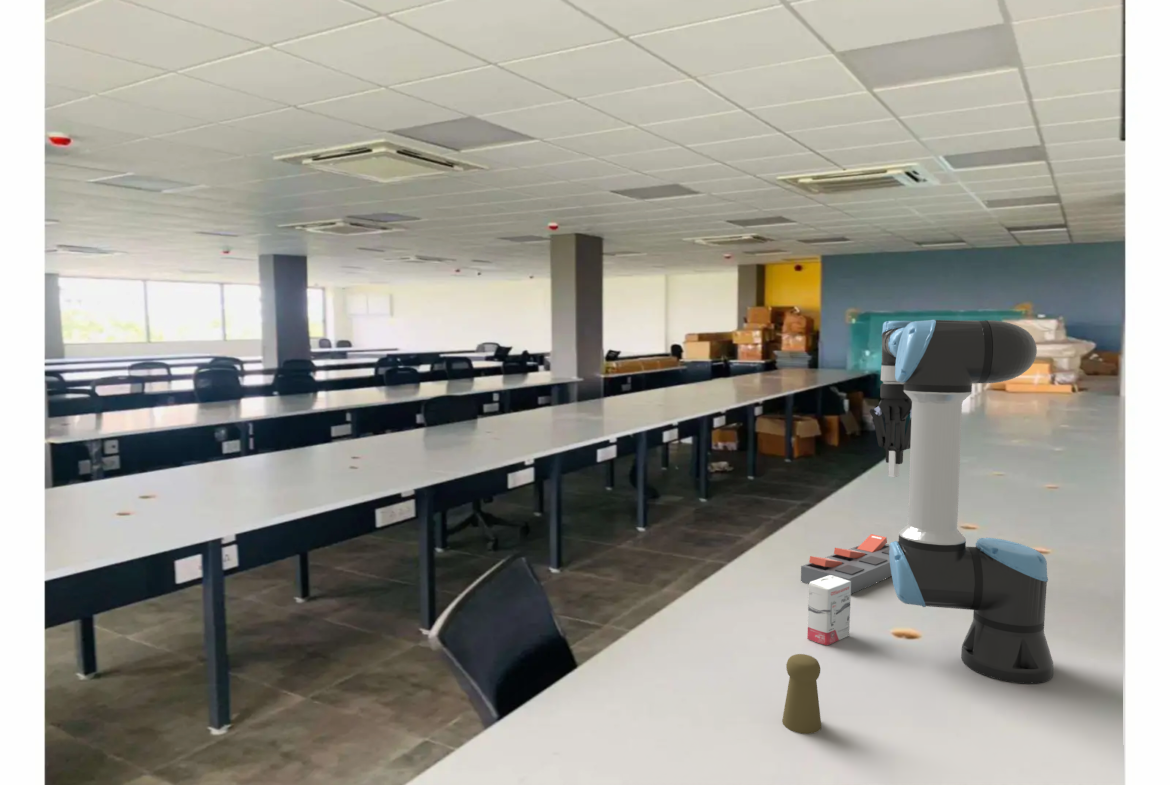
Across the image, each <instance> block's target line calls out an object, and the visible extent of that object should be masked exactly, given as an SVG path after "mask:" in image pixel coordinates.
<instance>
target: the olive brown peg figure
mask: <svg viewBox="0 0 1170 785" xmlns="http://www.w3.org/2000/svg"><path fill="white" fill-rule="evenodd" d="M785 665H786V668H785V669H786V671H787V672H786V673H787V675H788V676H789V679H788V685H787V691H786V696H785V702H784V709H783V715H782V721H781V722H782V725H783V726H784V727H785V728H786V729H787V730H790V731H792V732H794V733H798V734H803V735H804V734H806V735H810V734H815V733H817V732H819V731H821V729H822V720H821V719H822V718H821V711H820V704H819V702H820V701H819V691H818V683H817V680H818V679H819V677H820V674H821V665H820V663H819V660H817V659H816V658H815V657H814V656H812V655H810V654H804V653H803V654H802V653H797V654H796V653H795V654H793V655H791V656H790V657H788V659H787V662H786V664H785Z"/></svg>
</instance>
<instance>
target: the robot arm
mask: <svg viewBox="0 0 1170 785" xmlns="http://www.w3.org/2000/svg"><path fill="white" fill-rule="evenodd" d="M1037 348H1038V347H1037V343H1036V340H1035V338H1034V337H1033V335H1032V334H1030V332H1029V331H1027V329H1025V328H1023V327H1022V326H1019V325H1016V324H1014V323H1010V322H1007V321H1000V320H990V319H989V320H986V319H985V320H958V319H957V320H953V319H952V320H949V319H948V320H947V319H946V320H945V319H929V320H915V321H912V320H888V321H887V320H886V321H884V322H883V323H882V331H881V367H880V369H881V370H880V381H881V384H880V389H879V391H880V394H879V396H880V401H879V403H878V406H877V407H875V408H871V409H870V410H869V414H870V415H871V417H872V419H873V423H874V424H873V425H874V430H875V434H876V439H877V444H878V447H880V448H882V449H884V450H885V463H887V464H888V472H887V473H888V475H887V477H889V478H896V477H897V478H899V477H900V465H902V464H903V463H904V452H905V451H906V450H909V451H910V452H909V453H910V454H909V473H908V474H909V476H908V478H909V479H908V480H909V481H908V503H907V504H908V507H907V508H908V509H907V524H906V525H905V526H904V527H903V528H902V529H900V530H899V531H898V541H897V540H895V541H892V542H890V543H889V547H890V550H889V558H890V567H891V574H892V577H891V579H892V584H893V588H894V591H895V594H896V596H897V598H898V600H899V601H900V602H902V603H903V604H905V605H912V606H913V605H914V606H920V607H922V608H926V607H928V608H929V607H930V608H941V609H944V608H945V609H956V610H958V609H959V610H968V611H969V610H971V611H973V614H972V617H973V618H972V622H971V623H970V626H969V629H968V631H967V633H966V635H965V637H964V640H963V642H962V644H961V655H960V658H961V661H962V663H964V665H965V666H967V667H968V668H969V669H971V670H973V671H974V672H976V673H979V674H981V675H983V676H986V677H988V678H992V679H996V680H999V681H1005V682H1009V683H1010V682H1011V683H1014V684H1015V683H1017V684H1040V683H1045V682H1048V681H1049V680H1051V679H1052V678H1053V676H1054V661H1053V656H1052V655H1051V651H1050V648H1049V644H1048V641H1047V638H1046V634H1045V622H1046V621H1045V619H1046V603H1047V602H1046V599H1047V598H1046V597H1047V583H1048V581H1049V578H1048V565H1047V563H1048V562H1047V558H1046V557H1045V556H1044V554H1042V553H1041V552H1040V551H1038V550H1037V549H1035V548H1032V547H1030V546H1029V545H1025V544H1021V543H1018V542H1014V541H1011V540H1006V539H1001V538H995V537H981V538H979V539H977V540H976V542H975V544H974V545H975V546H967V545H966V544H967V541H966V537H965V536H964V535H963V534H962V532H961V531H959V529H958V516H959V515H958V514H959V495H960V493H959V492H960V490H959V488H960V465H961V464H960V460H961V440H962V439H961V438H962V437H961V436H962V415H963V414H962V410H963V402H964V400H966V399H967V398H968V397H970V396H971V395H972V394H973V392H972V389H973V387H972V386H973V384H997V383H1002V382H1007V381H1010V380H1013V379H1015V378H1018V377H1019V376H1021V375H1023V374H1024V373H1026V372H1027V371H1028V370H1029V369H1030V368H1031V367H1032V365H1033V364H1034V363H1035V360H1036V357H1037V355H1038V354H1037V353H1038V351H1037ZM883 416H884V419H883ZM908 416H909V417H910V419H909V420H908V424H907V418H908ZM884 423H885V424H884ZM906 424H907V426H906ZM906 427H907V428H906Z"/></svg>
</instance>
